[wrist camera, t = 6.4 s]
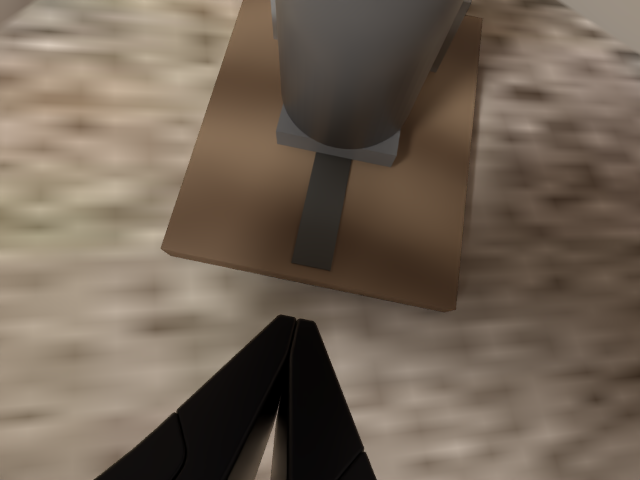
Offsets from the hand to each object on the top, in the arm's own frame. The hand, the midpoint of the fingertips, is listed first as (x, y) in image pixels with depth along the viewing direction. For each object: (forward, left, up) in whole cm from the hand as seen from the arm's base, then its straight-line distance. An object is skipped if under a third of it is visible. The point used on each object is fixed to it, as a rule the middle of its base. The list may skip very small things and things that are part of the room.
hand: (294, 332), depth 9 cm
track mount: (+9, -4, -7) cm, 13 cm away
